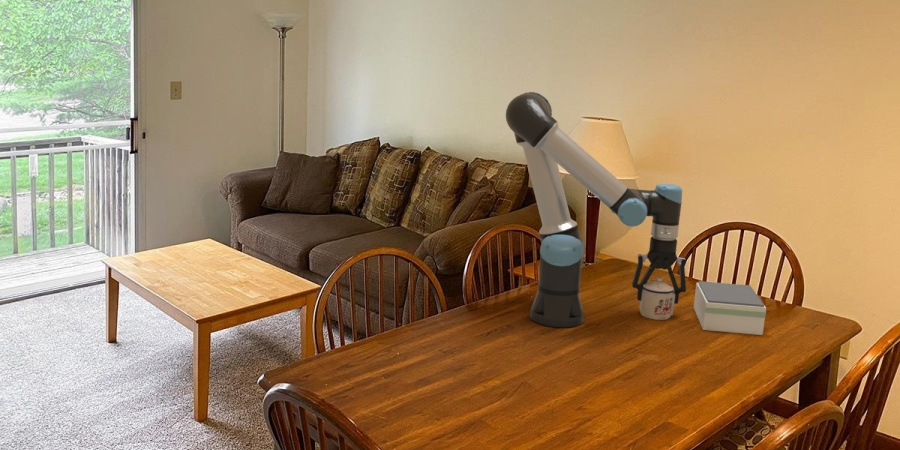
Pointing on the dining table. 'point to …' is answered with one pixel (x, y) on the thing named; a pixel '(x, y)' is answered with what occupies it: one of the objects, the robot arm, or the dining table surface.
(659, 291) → the teacup with lid
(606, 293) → the dining table surface
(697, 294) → the stand
